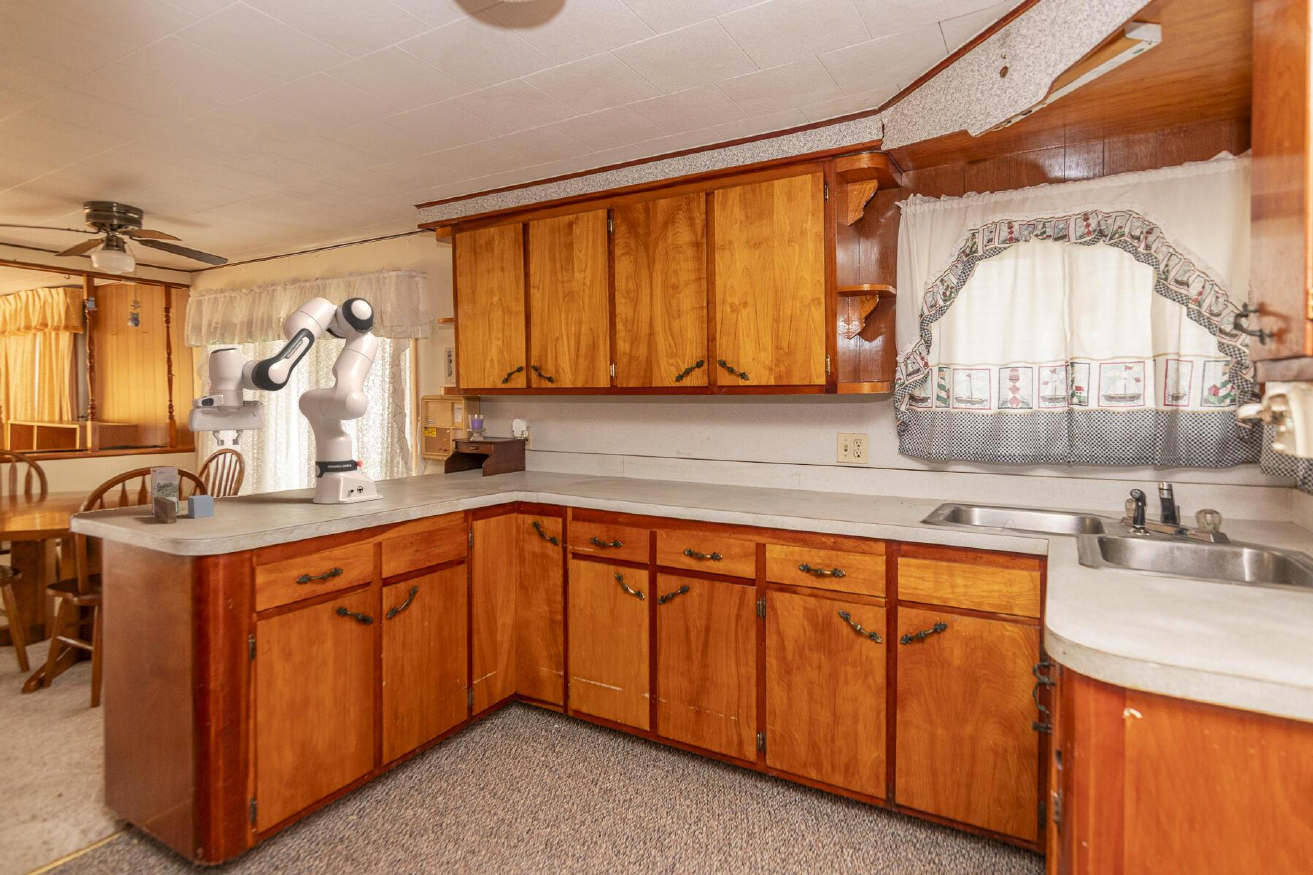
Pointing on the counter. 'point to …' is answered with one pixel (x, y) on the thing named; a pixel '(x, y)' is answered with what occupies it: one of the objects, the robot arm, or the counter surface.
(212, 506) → the blue block
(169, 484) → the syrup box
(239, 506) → the counter surface
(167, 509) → the walnut board
